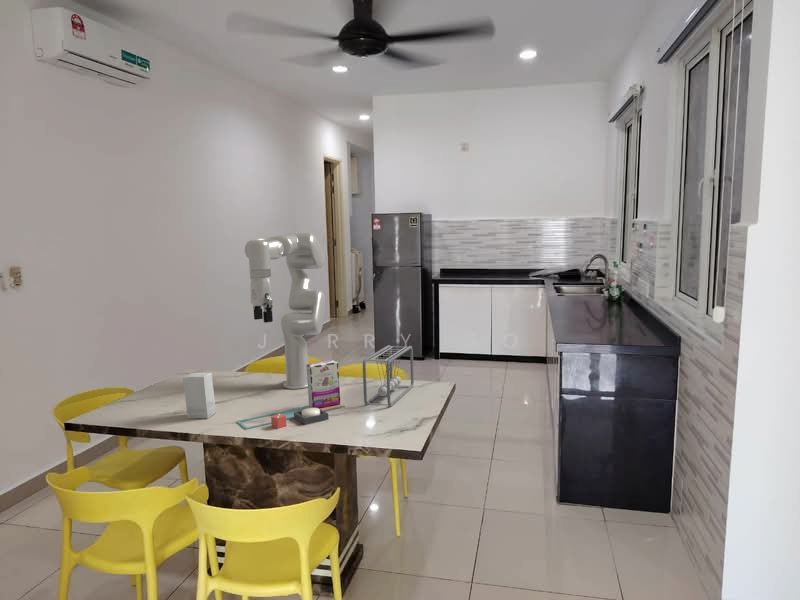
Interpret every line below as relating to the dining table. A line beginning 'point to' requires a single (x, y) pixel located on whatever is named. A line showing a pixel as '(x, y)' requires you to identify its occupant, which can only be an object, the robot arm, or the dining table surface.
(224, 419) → the dining table surface
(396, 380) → the newton's cradle
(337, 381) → the candy bar box
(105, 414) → the dining table surface
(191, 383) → the skincare box
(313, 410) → the popper cap
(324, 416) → the frame
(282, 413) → the track
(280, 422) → the red die
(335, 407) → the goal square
